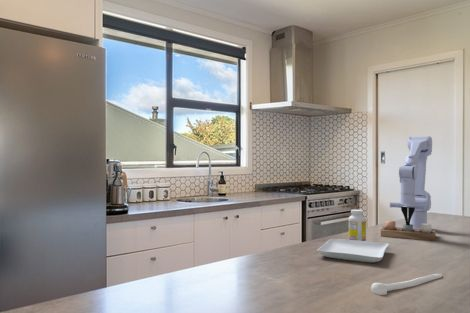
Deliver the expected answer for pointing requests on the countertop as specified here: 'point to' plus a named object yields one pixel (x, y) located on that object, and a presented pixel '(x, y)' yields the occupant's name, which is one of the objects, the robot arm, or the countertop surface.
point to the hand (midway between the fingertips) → (407, 224)
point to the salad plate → (353, 250)
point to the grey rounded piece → (408, 227)
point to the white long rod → (401, 284)
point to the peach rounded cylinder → (390, 225)
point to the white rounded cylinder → (426, 228)
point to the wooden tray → (408, 234)
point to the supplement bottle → (357, 226)
